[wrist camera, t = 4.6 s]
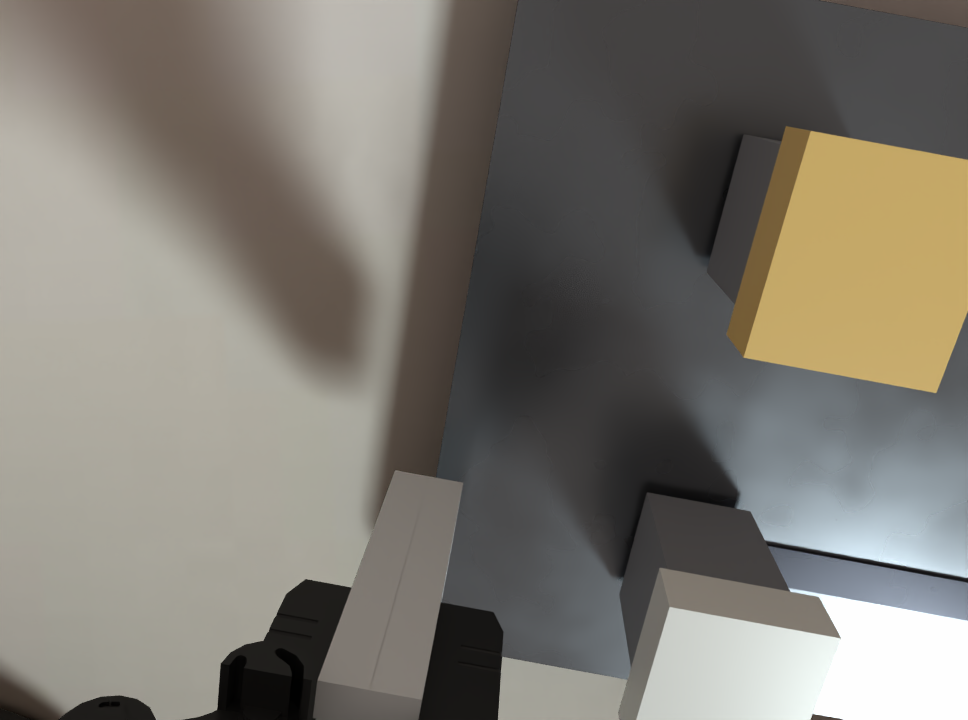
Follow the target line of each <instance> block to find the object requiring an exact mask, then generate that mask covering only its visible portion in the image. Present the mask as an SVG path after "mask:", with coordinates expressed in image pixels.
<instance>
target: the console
mask: <svg viewBox="0 0 968 720" xmlns="http://www.w3.org/2000/svg"><path fill="white" fill-rule="evenodd" d="M786 126H788V127H793V128H799V129H804V130H810V131H815V132H821V133H826V134H831V135H837V136H842V137H848V138H853V139H858V140H864V141H869V142H875V143H880V144H886V145H891V146H896V147H902V148H907V149H913V150H918V151H923V152H929V153H934V154H940V155H945V156H951V157H956V158H961V159H967V160H968V28H966V27H960V26H955V25H949V24H944V23H939V22H933V21H928V20H922V19H917V18H912V17H906V16H901V15H895V14H890V13H884V12H879V11H874V10H868V9H863V8H857V7H852V6H847V5H841V4H836V3H830V2H825V1H820V0H518V5H517V11H516V17H515V22H514V28H513V34H512V40H511V46H510V51H509V57H508V63H507V69H506V74H505V80H504V86H503V92H502V98H501V103H500V109H499V115H498V121H497V127H496V132H495V138H494V144H493V150H492V156H491V161H490V167H489V173H488V179H487V185H486V190H485V196H484V202H483V208H482V214H481V219H480V225H479V231H478V237H477V242H476V248H475V254H474V260H473V266H472V271H471V277H470V283H469V289H468V295H467V300H466V306H465V312H464V318H463V324H462V329H461V335H460V341H459V347H458V353H457V358H456V364H455V370H454V376H453V382H452V387H451V393H450V399H449V405H448V411H447V416H446V422H445V428H444V434H443V439H442V445H441V451H440V457H439V463H438V468H437V474H436V478H440V479H446V480H451V481H457V482H462V483H463V487H462V492H461V498H460V503H459V509H458V514H457V520H456V525H455V531H454V536H453V542H452V547H451V553H450V559H449V564H448V570H447V575H446V581H445V586H444V592H443V597H442V603H448V604H453V605H459V606H464V607H470V608H475V609H480V610H486V611H491V612H494V614H495V616H496V618H497V620H498V622H499V624H500V626H501V628H502V630H503V632H504V633H503V648H502V657H507V658H513V659H518V660H524V661H529V662H534V663H540V664H545V665H551V666H556V667H562V668H567V669H572V670H578V671H583V672H589V673H594V674H600V675H605V676H611V677H616V678H621V679H627V680H628V677H629V673H630V670H631V665H630V659H629V652H628V646H627V640H626V634H625V628H624V622H623V615H622V609H621V603H620V597H619V594H620V590H621V586H622V582H623V579H624V575H625V571H626V568H627V564H628V560H629V557H630V553H631V549H632V545H633V542H634V538H635V534H636V531H637V527H638V523H639V520H640V516H641V512H642V508H643V505H644V501H645V497H646V494H647V492H648V493H654V494H659V495H665V496H670V497H676V498H681V499H687V500H692V501H697V502H703V503H708V504H714V505H719V506H725V507H730V508H735V509H741V510H746V511H751V513H752V515H753V517H754V519H755V521H756V523H757V525H758V527H759V529H760V531H761V533H762V535H763V537H764V539H765V542H766V544H767V546H768V548H769V550H770V552H771V554H772V556H773V558H774V560H775V562H776V564H777V566H778V568H779V570H780V572H781V574H782V576H783V578H784V580H785V582H786V584H787V586H788V588H789V590H790V592H795V593H800V594H806V595H811V596H817V597H819V598H820V600H821V602H822V603H823V605H824V607H825V609H826V611H827V613H828V614H829V616H830V618H831V620H832V622H833V624H834V625H835V627H836V629H837V631H838V633H839V635H840V636H841V638H842V639H841V642H840V644H839V647H838V650H837V652H836V655H835V657H834V660H833V662H832V665H831V668H830V670H829V673H828V675H827V678H826V681H825V683H824V686H823V688H822V691H821V694H820V696H819V699H818V701H817V704H816V707H815V709H814V712H813V714H817V715H823V716H828V717H834V718H839V719H845V720H968V312H967V315H966V317H965V320H964V322H963V325H962V328H961V330H960V333H959V335H958V338H957V341H956V343H955V346H954V348H953V351H952V354H951V356H950V359H949V361H948V364H947V367H946V369H945V372H944V374H943V377H942V379H941V382H940V385H939V387H938V390H937V392H936V393H933V392H927V391H922V390H916V389H911V388H906V387H900V386H895V385H889V384H884V383H878V382H873V381H868V380H862V379H857V378H851V377H846V376H841V375H835V374H830V373H824V372H819V371H813V370H808V369H803V368H797V367H792V366H786V365H781V364H775V363H770V362H765V361H759V360H754V359H748V358H743V356H742V355H741V354H740V352H739V351H738V349H737V348H736V347H735V345H734V344H733V343H732V341H731V340H730V339H729V337H728V336H727V335H726V334H727V330H728V327H729V323H730V320H731V316H732V313H733V309H734V306H735V304H734V303H733V302H732V301H731V300H730V299H729V297H728V296H727V295H726V294H725V293H724V292H723V291H722V289H721V288H720V287H719V286H718V285H717V284H716V283H715V281H714V280H713V279H712V278H711V277H710V276H709V275H708V273H707V268H708V264H709V260H710V257H711V253H712V249H713V246H714V242H715V238H716V235H717V231H718V227H719V223H720V220H721V216H722V212H723V209H724V205H725V201H726V198H727V194H728V190H729V186H730V183H731V179H732V175H733V172H734V168H735V164H736V161H737V157H738V153H739V149H740V146H741V142H742V138H743V135H744V134H745V135H751V136H756V137H761V138H767V139H772V140H778V141H782V138H783V135H784V131H785V128H786Z"/></svg>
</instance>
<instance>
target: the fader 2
mask: <svg viewBox="0 0 968 720" xmlns="http://www.w3.org/2000/svg"><path fill="white" fill-rule="evenodd" d="M619 597H620V603H621V609H622V615H623V622H624V628H625V634H626V640H627V646H628V652H629V659H630V665H631V670H630V673H629V677H628V680H627V684H626V687H625V691H624V694H623V698H622V701H621V705H620V708H619V712H618V713H619V720H811V717H812V714H813V712H814V709H815V707H816V704H817V701H818V699H819V696H820V694H821V691H822V688H823V686H824V683H825V681H826V678H827V675H828V673H829V670H830V668H831V665H832V662H833V660H834V657H835V655H836V652H837V650H838V647H839V644H840V642H841V639H842V638H841V636H840V635H839V633H838V631H837V629H836V627H835V625H834V624H833V622H832V620H831V618H830V616H829V614H828V613H827V611H826V609H825V607H824V605H823V603H822V602H821V600H820V598H819V597H817V596H811V595H806V594H800V593H795V592H790V590H789V588H788V586H787V584H786V582H785V580H784V578H783V576H782V574H781V572H780V570H779V568H778V566H777V564H776V562H775V560H774V558H773V556H772V554H771V552H770V550H769V548H768V546H767V544H766V542H765V539H764V537H763V535H762V533H761V531H760V529H759V527H758V525H757V523H756V521H755V519H754V517H753V515H752V513H751V511H746V510H741V509H735V508H730V507H725V506H719V505H714V504H708V503H703V502H697V501H692V500H687V499H681V498H676V497H670V496H665V495H659V494H654V493H648V492H647V494H646V497H645V501H644V505H643V508H642V512H641V516H640V520H639V523H638V527H637V531H636V534H635V538H634V542H633V545H632V549H631V553H630V557H629V560H628V564H627V568H626V571H625V575H624V579H623V582H622V586H621V590H620V594H619Z"/></svg>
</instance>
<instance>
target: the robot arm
mask: <svg viewBox="0 0 968 720" xmlns="http://www.w3.org/2000/svg"><path fill="white" fill-rule="evenodd" d="M462 487H463V483H462V482H457V481H451V480H446V479H440V478H435V477H429V476H424V475H419V474H413V473H408V472H402V471H397V470H395V472H394V475H393V477H392V480H391V483H390V485H389V488H388V491H387V493H386V496H385V499H384V502H383V504H382V507H381V510H380V512H379V515H378V518H377V521H376V523H375V526H374V529H373V531H372V534H371V537H370V539H369V542H368V545H367V548H366V550H365V553H364V556H363V558H362V561H361V564H360V567H359V569H358V572H357V575H356V577H355V580H354V583H353V586H352V588H350V587H345V586H340V585H334V584H329V583H323V582H318V581H312V580H307V579H305V580H304V581H303V582H302V583H300V584H299V585H298V586H296V587H295V588H294V589H292V590H291V591H290V592H288V593H287V594H286V596H285V598H284V600H283V602H282V604H281V606H280V608H279V610H278V612H277V616H276V617H275V618H274V620H273V623H272V625H271V627H270V629H269V632H268V633H267V635H266V637H265V639H264V641H260V642H256V643H251V644H246V645H244V646H242V647H240V648H238V649H236V650H234V651H233V652H231V653H230V654H229V655H228V656H227V657H226V658H225V660H224V661H223V662H222V663H221V669H220V682H219V695H218V708H217V710H216V711H214V712H212V713H209V714H207V715H204V716H201V717H197V718H191V719H185V720H498V708H499V693H500V678H501V663H502V648H503V633H504V632H503V630H502V628H501V626H500V624H499V622H498V620H497V618H496V616H495V614H494V612H491V611H486V610H480V609H475V608H470V607H464V606H459V605H453V604H448V603H442V597H443V592H444V586H445V581H446V575H447V570H448V564H449V559H450V553H451V547H452V542H453V536H454V531H455V525H456V520H457V514H458V509H459V503H460V498H461V492H462ZM0 720H30V719H28V718H25V717H23V716H20V715H18V714H15V713H12V712H9V711H6V710H3V709H0ZM59 720H156V719H155V717H154V715H153V713H152V711H151V709H150V707H148V706H147V705H145V704H144V703H142V702H141V701H139V700H138V699H134V698H129V697H125V696H107V697H99V698H96V699H93V700H90V701H87V702H84V703H81V704H80V705H78V706H77V707H75V708H74V709H72V710H70V711H69V712H67V713H66V714H65V715H63V716H62V717H61V718H60V719H59Z"/></svg>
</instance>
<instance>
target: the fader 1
mask: <svg viewBox="0 0 968 720" xmlns="http://www.w3.org/2000/svg"><path fill="white" fill-rule="evenodd" d="M707 273H708V275H709V276H710V277H711V278H712V279H713V280H714V281H715V283H716V284H717V285H718V286H719V287H720V288H721V289H722V291H723V292H724V293H725V294H726V295H727V296H728V297H729V299H730V300H731V301H732V302H733V303H734V304H735V306H734V309H733V313H732V316H731V320H730V323H729V327H728V330H727V334H726V335H727V336H728V337H729V339H730V340H731V341H732V343H733V344H734V345H735V347H736V348H737V349H738V351H739V352H740V354H741V355H742V356H743V358H748V359H754V360H759V361H765V362H770V363H775V364H781V365H786V366H792V367H797V368H803V369H808V370H813V371H819V372H824V373H830V374H835V375H841V376H846V377H851V378H857V379H862V380H868V381H873V382H878V383H884V384H889V385H895V386H900V387H906V388H911V389H916V390H922V391H927V392H933V393H936V392H937V390H938V387H939V385H940V382H941V379H942V377H943V374H944V372H945V369H946V367H947V364H948V361H949V359H950V356H951V354H952V351H953V348H954V346H955V343H956V341H957V338H958V335H959V333H960V330H961V328H962V325H963V322H964V320H965V317H966V315H967V312H968V160H967V159H961V158H956V157H951V156H945V155H940V154H934V153H929V152H923V151H918V150H913V149H907V148H902V147H896V146H891V145H886V144H880V143H875V142H869V141H864V140H858V139H853V138H848V137H842V136H837V135H831V134H826V133H821V132H815V131H810V130H804V129H799V128H793V127H788V126H786V128H785V131H784V135H783V138H782V141H778V140H772V139H767V138H761V137H756V136H751V135H745V134H744V135H743V138H742V142H741V146H740V149H739V153H738V157H737V161H736V164H735V168H734V172H733V175H732V179H731V183H730V186H729V190H728V194H727V198H726V201H725V205H724V209H723V212H722V216H721V220H720V223H719V227H718V231H717V235H716V238H715V242H714V246H713V249H712V253H711V257H710V260H709V264H708V268H707Z"/></svg>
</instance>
